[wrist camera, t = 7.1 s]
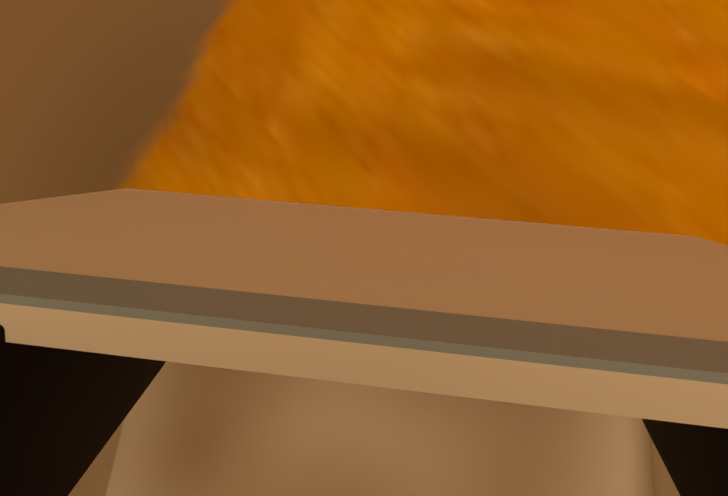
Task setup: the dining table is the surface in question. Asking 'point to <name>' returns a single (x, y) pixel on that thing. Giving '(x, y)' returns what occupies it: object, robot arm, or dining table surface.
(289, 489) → the carton
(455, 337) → the flap
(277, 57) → the dining table surface
